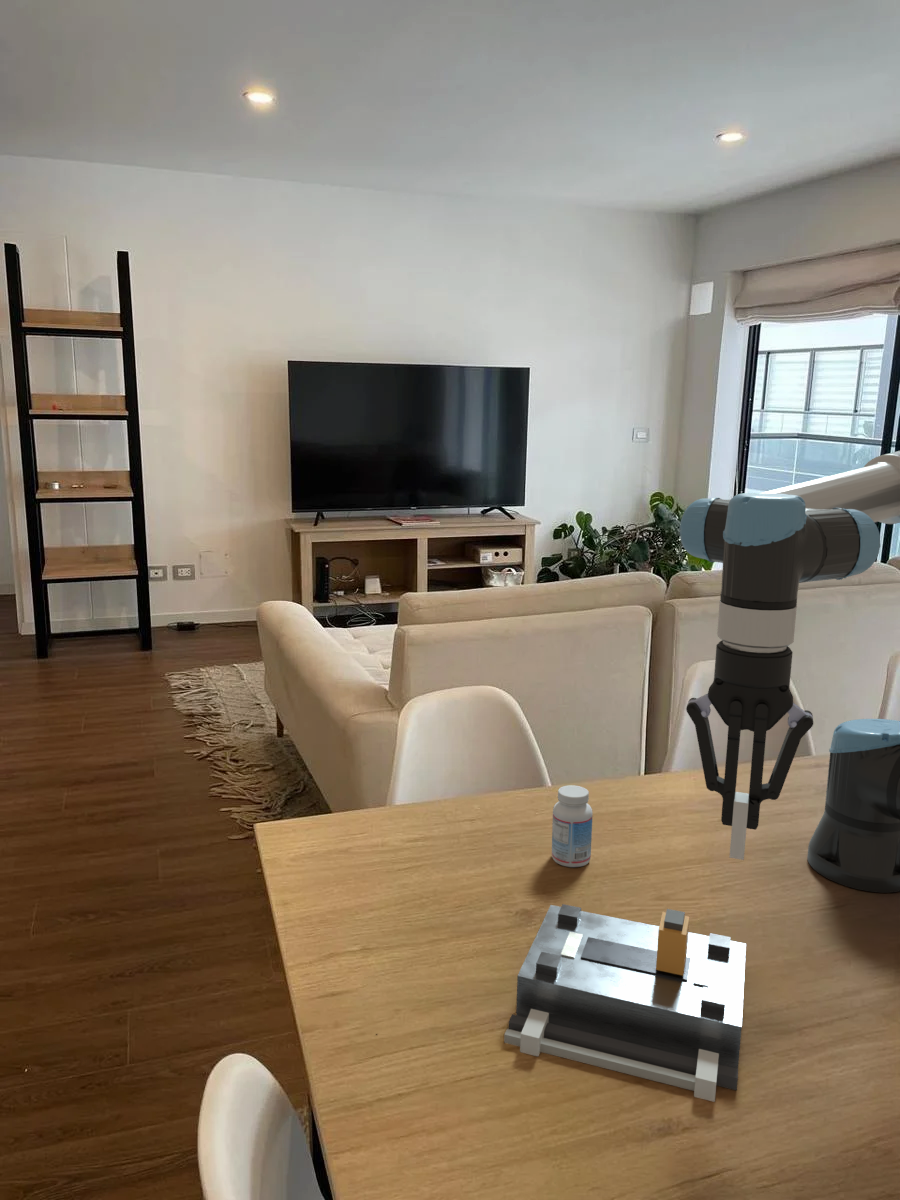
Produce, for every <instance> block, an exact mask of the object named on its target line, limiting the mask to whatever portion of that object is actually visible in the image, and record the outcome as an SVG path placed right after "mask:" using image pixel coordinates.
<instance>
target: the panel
mask: <svg viewBox="0 0 900 1200" xmlns="http://www.w3.org/2000/svg"><path fill="white" fill-rule="evenodd" d="M659 926H660V925H654V924H648V923H643V922H639V921H633V920H630V919H629V920H628V919H625V918H624V919H623V918H620V917H619V918H618V917H613V916H608V915H604V914H603V915H602V914H599V913H594V912H593V913H592V912H589V911H584V910H582V907H579V906H574V905H569V904H563V903H562V904H561V905H560V906H558V905H552V904H550V905H549V908H548V910H547V912H546V914H545V916H544V917H543V921H542V923H541V925H540V926H539V927H540V928H539V929H538V932H537V933H536V936H535V937H534V940H533V942H532V944H531V946H530V948H529V950H528V953H527V955H526V957H525V959H524V961H523V963H522V965H521V967H520V970H519V971H518V974H517V978H516V1005H515V1006H516V1008H515V1011H516V1012H515V1015H518V1016H522V1017H526V1018H528V1015H529V1013H530V1010H531V1009H535V1010H539V1011H543V1012H547V1013H549V1022H548V1023H551V1024H555V1025H559V1026H563V1027H567V1028H571V1029H575V1030H579V1031H584V1032H588V1033H592V1034H596V1035H600V1036H604V1037H608V1038H612V1039H616V1040H621V1041H625V1042H629V1043H633V1044H637V1045H641V1046H645V1047H649V1048H654V1049H658V1050H662V1051H666V1052H670V1053H674V1054H678V1055H682V1056H687V1057H691V1058H695V1059H698V1052H699V1049H702V1050H706V1051H711V1052H715V1053H719V1058H718V1064H719V1065H724V1066H728V1067H732V1068H736V1069H738V1070H739V1064H740V1063H739V1062H740V1052H741V1049H740V1048H741V1039H742V1026H743V1010H744V991H745V990H744V989H745V973H746V972H745V970H746V952H747V943H745V942H740V941H736V940H731V936H727V935H722V934H716V933H711V932H709V935H705V934H700V933H695V932H689V931H688V942H687V956H686V962H685V968H684V974H683V975H678V974H673V973H669V972H664V971H659V970H656V962H657V947H658V932H659Z"/></svg>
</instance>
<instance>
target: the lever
mask: <svg viewBox="0 0 900 1200" xmlns="http://www.w3.org/2000/svg"><path fill="white" fill-rule="evenodd" d="M685 914H686V912H685V911H681V910H677V909H676V910H675V909H670V908H666V911H662V912H661V918H660V923H659V925H658V926H659V932H658V947H657V962H656V970H659V971H664V972H669V973H673V974H678V975H683V974H684V968H685V962H686V956H687V942H688V932H689V926H690V916H687V915H685Z"/></svg>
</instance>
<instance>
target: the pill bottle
mask: <svg viewBox="0 0 900 1200" xmlns="http://www.w3.org/2000/svg"><path fill="white" fill-rule="evenodd" d="M589 793H590V791H589V790H588V789H587V788H585V787H584V786H579V785H574V784H570V785H564V786H561V787H559V789H558V790H557V799H558V801H557V802H556V803H555V804H554V806H553V808H552V827H551V828H552V830H551V831H552V833H551V834H552V835H551V857H552V859H553V862H555V863H556V864H557V865H558V864H559V865H560V866H563V867H567V868H579V867H584V866H587V864H588V863H590V861H591V858H592V840H593V839H592V836H593V834H592V833H593V817H594V816H593V809H592V807H591V805H590V804H589V799H590V798H589V797H590V795H589Z"/></svg>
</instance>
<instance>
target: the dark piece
mask: <svg viewBox="0 0 900 1200" xmlns="http://www.w3.org/2000/svg"><path fill="white" fill-rule="evenodd" d="M548 1022H549V1013H547V1012H543V1011H539V1010H535V1009H531V1010H530V1013H529V1015H528V1018H526V1017H522V1016H518V1015H516V1014H511V1016H510V1019H509V1020H508V1027H507V1028H506V1030H505V1032H504V1038H503V1040H504V1044H508V1045H513V1046H515V1047H519V1052H520V1053H521V1054H522V1053H523V1054H526V1055H531V1056H535V1057H540V1054H541V1053H543V1054H547V1055H551V1056H556V1057H560V1058H564V1059H568V1060H570V1061H571V1060H572V1061H575V1062H580V1063H583V1064H587V1065H591V1066H594V1067H599V1068H603V1069H607V1070H610V1071H615V1072H619V1073H621V1074H626V1075H630V1076H634V1077H638V1078H642V1079H646V1080H650V1081H652V1082H653V1081H654V1082H658V1083H661V1084H665V1085H670V1086H674V1087H678V1088H681V1089H684V1090H689V1091H693V1097H694V1098H697V1099H701V1100H702V1099H703V1100H704V1101H705V1100H706V1101H710V1102H714V1103H715V1102H716V1093H717V1086H718V1087H722V1088H725V1089H729V1090H733V1091H738V1080H739V1068H738V1069H736V1068H732V1067H728V1066H724V1065H719V1064H718V1058H719V1053H715V1052H711V1051H706V1050H702V1049H699V1052H698V1059H695V1058H691V1057H687V1056H682V1055H678V1054H674V1053H670V1052H666V1051H662V1050H658V1049H654V1048H649V1047H645V1046H641V1045H637V1044H633V1043H629V1042H625V1041H621V1040H616V1039H612V1038H608V1037H604V1036H600V1035H596V1034H592V1033H588V1032H584V1031H579V1030H575V1029H571V1028H567V1027H563V1026H559V1025H555V1024H551V1023H548Z"/></svg>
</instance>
